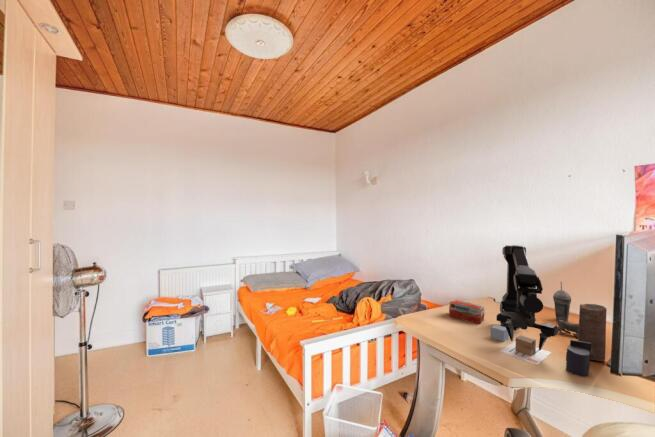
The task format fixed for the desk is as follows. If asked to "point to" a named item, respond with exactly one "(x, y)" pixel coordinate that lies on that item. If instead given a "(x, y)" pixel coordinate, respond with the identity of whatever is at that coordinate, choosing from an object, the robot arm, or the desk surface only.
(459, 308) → the medicine box
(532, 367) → the desk surface
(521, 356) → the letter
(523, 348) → the walnut block
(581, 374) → the speaker
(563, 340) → the desk surface
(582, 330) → the candle
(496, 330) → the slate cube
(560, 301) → the beverage cup
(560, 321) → the dog figurine
